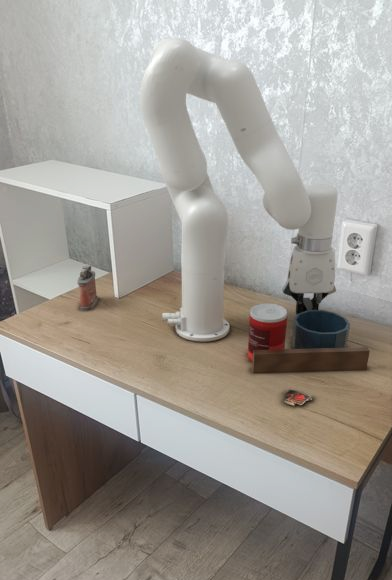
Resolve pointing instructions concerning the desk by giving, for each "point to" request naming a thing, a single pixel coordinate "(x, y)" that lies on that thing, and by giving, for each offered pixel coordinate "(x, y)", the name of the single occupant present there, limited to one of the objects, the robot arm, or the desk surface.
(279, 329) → the canned food
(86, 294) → the lighter
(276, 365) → the wooden board
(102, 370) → the desk surface
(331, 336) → the saucepan
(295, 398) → the mottled red brown piece
